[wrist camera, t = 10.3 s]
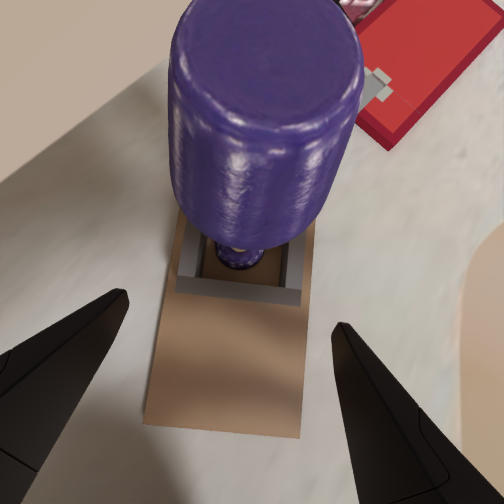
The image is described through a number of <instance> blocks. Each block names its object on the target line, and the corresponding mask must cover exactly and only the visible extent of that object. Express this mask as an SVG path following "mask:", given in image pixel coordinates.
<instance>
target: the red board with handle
mask: <svg viewBox="0 0 504 504" xmlns="http://www.w3.org/2000/svg"><path fill="white" fill-rule="evenodd" d="M332 1H333V2H334V3H336V4H337V5H338V6H339V7H340V8H341V10H342V11H343V12H344V13H345V11H344V9H343V8H342V6H341V5H340V3H339V1H340V0H332ZM345 15H346V16H347V14H346V13H345ZM347 17H348V16H347ZM348 19H349V17H348ZM349 20H350V19H349ZM350 21H351V20H350ZM351 23H352V22H351ZM352 25H353V23H352ZM353 27H354V25H353ZM503 28H504V10H503V9H502V8H500V7H499V6H498V5H497V4H495V3H494V2H493V1H492V0H384V1H383V2H382V3H381V4H380V5H379V6H378V7H377V8H376V9H374V10H373V11H372V12H371V13H370V14H369V15H368V16H367V17H365V18H364V19H363V20H362V21H361V22H360V23H359V24H358V25H357V26H355V27H354V29H355V31H356V33H357V35H358V37H359V40H360V44H361V47H362V51H363V56H364V73H365V79H364V92H363V96H362V100H361V103H360V107H359V111H358V114H357V117H356V120H355V123H356V124H357V125H358V126H359V127H360V128H362V129H363V130H364V131H365V132H366V133H367V134H368V135H370V136H371V137H372V138H373V139H374V140H375V141H376V142H378V143H379V144H380V145H381V146H382V147H383V148H385V149H386V150H387V151H390V150H391V149H392V148H393V147H394V146H395V145H396V144H397V143H398V142H399V141H400V140H401V139H402V137H403V136H404V135H405V134H406V133H407V132H408V131H409V130H410V129H411V128H412V127H413V126H414V124H415V123H416V122H417V121H418V120H419V119H420V118H421V117H422V116H423V115H424V114H425V113H426V111H427V110H428V109H429V108H430V107H431V106H432V105H433V104H434V103H435V102H436V101H437V100H438V98H439V97H440V96H441V95H442V94H443V93H444V92H445V91H446V90H447V89H448V88H449V87H450V85H451V84H452V83H453V82H454V81H455V80H456V79H457V78H458V77H459V76H460V75H461V74H462V73H463V71H464V70H465V69H466V68H467V67H468V66H469V65H470V64H471V63H472V62H473V61H474V60H475V58H476V57H477V56H478V55H479V54H480V53H481V52H482V51H483V50H484V49H485V48H486V47H487V45H488V44H489V43H490V42H491V41H492V40H493V39H494V38H495V37H496V36H497V35H498V34H499V32H500V31H501V30H502V29H503Z"/></svg>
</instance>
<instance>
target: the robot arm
mask: <svg viewBox="0 0 504 504" xmlns="http://www.w3.org/2000/svg"><path fill="white" fill-rule="evenodd" d="M128 308H129V299H128V295H127V291H126V290H125V289H119V288H115V289H113V290H111V291H109V292H107V293H106V294H104V295H102V296H101V297H99V298H97V299H95V300H94V301H92V302H90V303H89V304H87V305H85V306H83V307H82V308H80V309H78V310H77V311H75V312H73V313H72V314H70V315H68V316H66V317H65V318H63V319H61V320H60V321H58V322H56V323H54V324H53V325H51V326H49V327H48V328H46V329H44V330H43V331H41V332H39V333H37V334H36V335H34V336H32V337H31V338H29V339H27V340H25V341H24V342H22V343H20V344H19V345H17V346H15V347H14V348H13V349H12V350H8V351H7V352H5V353H3V354H1V355H0V504H20V503H21V502H22V500H23V498H24V497H25V495H26V493H27V491H28V490H29V488H30V486H31V484H32V483H33V481H34V479H35V477H36V476H37V474H38V473H37V472H39V470H40V468H41V467H42V465H43V463H44V462H45V460H46V458H47V456H48V455H49V453H50V451H51V449H52V448H53V446H54V444H55V443H56V441H57V439H58V437H59V436H60V434H61V432H62V430H63V429H64V427H65V425H66V423H67V422H68V420H69V418H70V417H71V415H72V413H73V411H74V410H75V408H76V406H77V404H78V403H79V401H80V399H81V398H82V396H83V394H84V392H85V391H86V389H87V387H88V385H89V384H90V382H91V380H92V378H93V377H94V375H95V373H96V372H97V370H98V368H99V366H100V365H101V363H102V361H103V359H104V358H105V356H106V354H107V353H108V351H109V349H110V347H111V345H112V344H113V342H114V340H115V338H116V335H117V333H118V331H119V329H120V326H121V324H122V322H123V320H124V317H125V315H126V313H127V311H128ZM331 343H332V354H333V366H334V375H335V381H336V386H337V391H338V396H339V402H340V407H341V412H342V417H343V422H344V427H345V432H346V438H347V443H348V448H349V453H350V458H351V463H352V469H353V474H354V479H355V484H356V489H357V494H358V500H359V504H504V498H503V496H501V494H500V493H499V492H498V491H497V490H496V489H495V488H494V487H493V486H492V485H491V484H490V483H489V482H488V481H487V480H486V479H485V477H484V476H483V475H482V474H481V473H480V472H479V471H478V470H477V469H476V468H475V467H474V466H473V465H472V464H471V463H470V462H469V461H468V460H467V459H466V458H465V457H464V456H463V454H462V453H461V452H460V451H459V450H458V449H457V448H456V447H455V446H454V445H453V444H452V443H451V442H450V440H449V439H448V438H447V437H446V436H445V435H444V434H443V433H442V432H441V431H440V429H439V428H438V427H437V426H436V425H435V424H434V423H433V421H432V420H431V419H430V418H429V417H428V416H427V414H426V413H425V412H424V411H423V410H422V409H421V408H420V407H419V405H418V404H417V403H416V402H415V400H414V399H413V398H412V397H411V396H410V395H409V393H408V392H407V391H406V390H405V389H404V388H403V386H402V385H401V384H400V383H399V382H398V380H397V379H396V378H395V377H394V376H393V375H392V373H391V372H390V371H389V370H388V369H387V367H386V366H385V365H384V364H383V363H382V362H381V360H380V359H379V358H378V357H377V356H376V355H375V353H374V352H373V351H372V350H371V349H370V347H369V346H368V345H367V344H366V343H365V342H364V340H363V339H362V338H361V337H360V336H359V335H358V333H357V332H356V331H355V330H354V329H353V327H352V326H351V325H350V324H349V323H344V322H338V323H337V325H336V327H335V329H334V330H333V332H332V335H331Z"/></svg>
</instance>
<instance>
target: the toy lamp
mask: <svg viewBox="0 0 504 504" xmlns="http://www.w3.org/2000/svg"><path fill="white" fill-rule="evenodd" d="M364 79H365V73H364V56H363V51H362V47H361V44H360V40H359V37H358V35H357V33H356V31H355V29H354V27H353V25H352V23H351V21H350V20H349V19H348V17H347V16H346V15H345V13H344V12H343V11H342V10H341V8H340V7H339V6H338V5H337V4H336V3H334V2H333V1H332V0H192V2H191V3H190V4H189V6H188V7H187V9H186V10H185V12H184V13H183V14H182V16H181V18H180V20H179V22H178V25H177V27H176V30H175V32H174V35H173V38H172V42H171V50H170V59H169V68H168V124H169V126H168V140H169V166H170V176H171V182H172V187H173V191H174V195H175V197H176V200H177V202H178V204H179V206H180V208H181V210H182V211H183V213H184V214H185V216H186V217H187V219H188V220H189V221H190V222H191V223H192V224H193V225H194V226H195V227H196V228H197V229H198V230H199V231H200V232H202V233H203V234H204V235H205V236H207V237H209V238H211V239H213V240H214V241H215V251H216V254H217V257H218V258H219V260H220V261H221V262H222V263H223V264H224V265H225V266H227V267H229V268H231V269H234V270H246V269H249V268H251V267H253V266H254V265H256V264H257V263H258V262H259V261H260V259H261V258H262V256H263V253H264V250H265V249H269V248H273V247H277V246H279V245H281V244H284V243H286V242H288V241H290V240H292V239H293V238H295V237H297V236H298V235H300V234H301V233H302V232H304V231H305V230H306V229H307V227H308V226H309V225H310V224H311V223H312V222H313V221H314V219H315V218H316V217H317V215H318V214H319V212H320V211H321V209H322V207H323V205H324V203H325V201H326V199H327V196H328V194H329V192H330V189H331V186H332V184H333V181H334V178H335V176H336V173H337V170H338V168H339V165H340V163H341V160H342V157H343V155H344V152H345V149H346V146H347V144H348V141H349V138H350V135H351V132H352V129H353V126H354V123H355V120H356V117H357V114H358V111H359V107H360V103H361V100H362V96H363V92H364Z"/></svg>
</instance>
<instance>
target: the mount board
mask: <svg viewBox="0 0 504 504" xmlns="http://www.w3.org/2000/svg"><path fill="white" fill-rule="evenodd" d="M315 220H316V218H315V219H314V221H313V222H312V223H311V224H310V225H309V226H308V227H307V229H306V230H305V231H304V232H302V233H301V234H300V235H298V236H297V237H295V238H293V239H292V240H290V241H288V242H286V243H284V244H281V245H279V246H277V247H273V248H269V249H265V250H264V253H263V256H262V258H261V259H260V261H259V262H258V263H257V264H256V265H254V266H253V267H251V268H249V269H246V270H234V269H231V268H229V267H227V266H225V265H224V264H223V263H222V262H221V261H220V260H219V258H218V257H217V254H216V251H215V241H214V240H213V239H211V238H209V237H207V236H205V235H204V234H203V233H202V232H200V231H199V230H198V229H197V228H196V227H195V226H194V225H193V224H192V223H191V222H190V221H189V220H188V219H187V217H186V216H185V214H184V213H183V211H182V210H181V208H180V211H179V216H178V222H177V228H176V234H175V239H174V245H173V251H172V257H171V262H170V268H169V274H168V280H167V286H166V291H165V297H164V303H163V309H162V314H161V320H160V326H159V332H158V337H157V343H156V349H155V355H154V360H153V366H152V372H151V378H150V384H149V389H148V395H147V401H146V407H145V412H144V418H143V424H147V425H158V426H169V427H179V428H190V429H200V430H211V431H222V432H232V433H243V434H253V435H264V436H275V437H285V438H296V439H300V427H301V413H302V400H303V386H304V372H305V358H306V344H307V330H308V317H309V303H310V289H311V275H312V261H313V248H314V234H315Z"/></svg>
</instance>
